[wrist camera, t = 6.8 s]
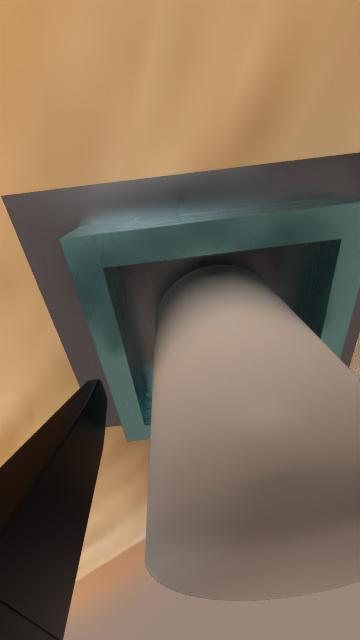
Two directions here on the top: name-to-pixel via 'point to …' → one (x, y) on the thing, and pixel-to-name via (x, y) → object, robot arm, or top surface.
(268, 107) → the top surface
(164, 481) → the grey rounded block
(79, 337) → the teal-collared square flange
